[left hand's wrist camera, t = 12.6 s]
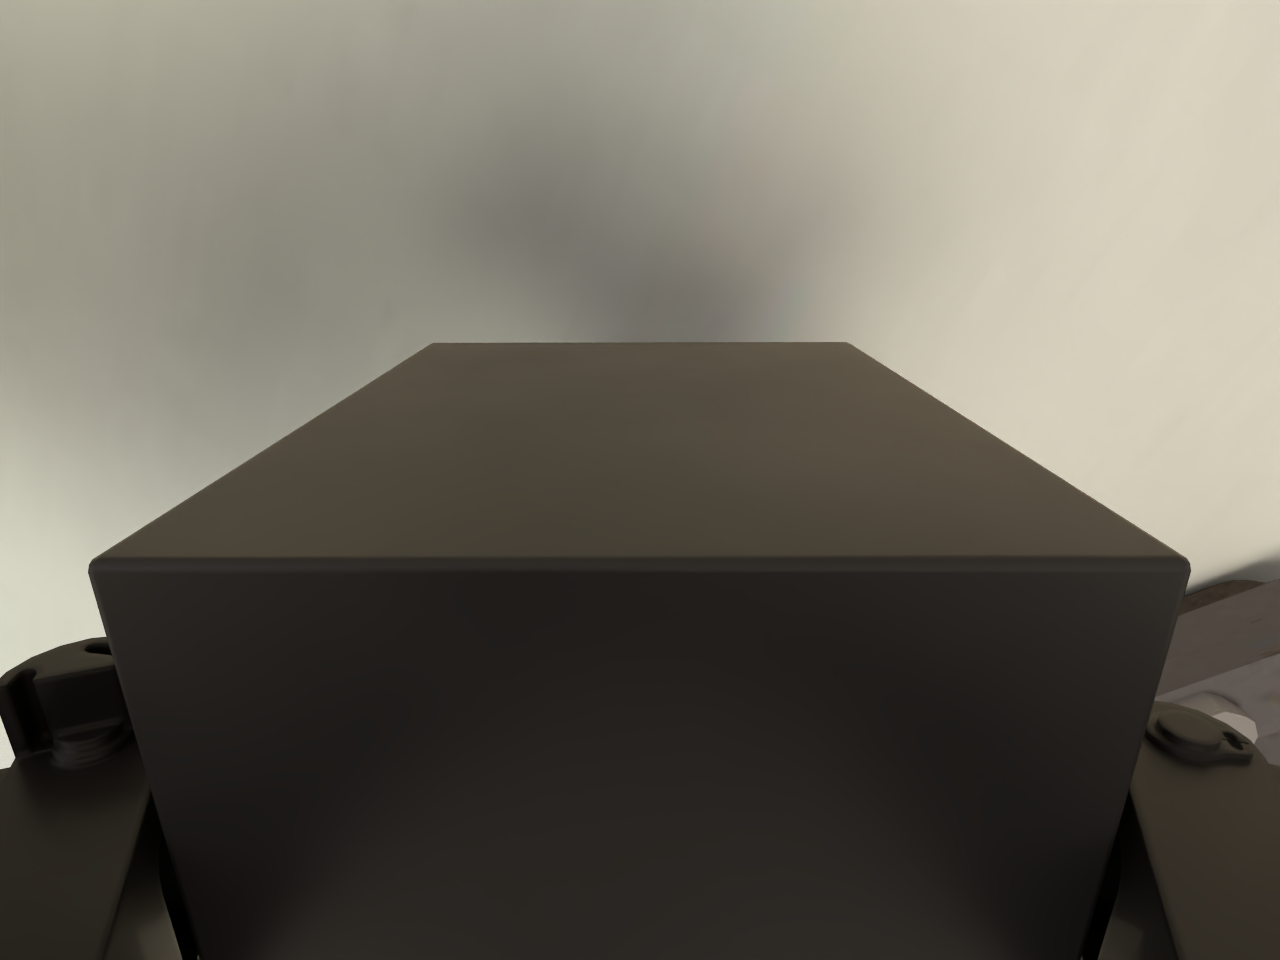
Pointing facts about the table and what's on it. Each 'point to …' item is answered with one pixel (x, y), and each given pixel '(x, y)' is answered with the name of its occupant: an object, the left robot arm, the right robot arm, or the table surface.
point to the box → (640, 669)
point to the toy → (1229, 659)
